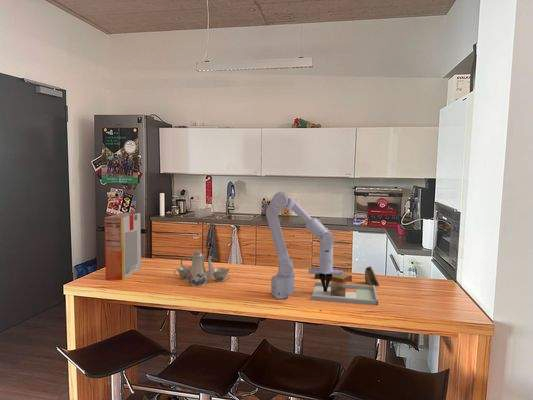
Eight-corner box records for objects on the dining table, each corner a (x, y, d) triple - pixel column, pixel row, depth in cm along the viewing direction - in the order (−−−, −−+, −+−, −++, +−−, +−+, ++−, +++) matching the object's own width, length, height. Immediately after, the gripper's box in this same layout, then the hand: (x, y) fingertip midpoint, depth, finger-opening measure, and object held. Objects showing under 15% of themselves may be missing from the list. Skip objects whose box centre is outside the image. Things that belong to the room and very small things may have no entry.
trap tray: (310, 303, 152) (311, 294, 152) (314, 288, 172) (315, 281, 171) (378, 308, 147) (378, 299, 147) (374, 293, 166) (374, 285, 166)
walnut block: (330, 295, 157) (330, 286, 157) (331, 291, 163) (331, 282, 163) (345, 296, 156) (345, 287, 156) (345, 292, 162) (345, 283, 162)
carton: (343, 287, 175) (343, 278, 175) (314, 280, 186) (314, 272, 185) (352, 283, 181) (352, 274, 181) (323, 277, 192) (323, 268, 191)
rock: (360, 276, 184) (356, 278, 175) (371, 263, 183) (368, 265, 173) (377, 292, 180) (374, 295, 171) (389, 279, 179) (387, 282, 170)
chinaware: (232, 281, 188) (232, 247, 188) (225, 288, 171) (226, 251, 171) (176, 279, 190) (177, 246, 190) (165, 285, 173) (166, 249, 174)
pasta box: (126, 267, 205) (125, 212, 203) (141, 267, 205) (140, 212, 202) (105, 279, 182) (104, 217, 180) (122, 280, 182) (121, 217, 180)
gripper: (307, 260, 157) (307, 292, 158) (343, 262, 154) (342, 295, 155) (309, 257, 164) (308, 287, 165) (343, 259, 161) (342, 290, 162)
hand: (325, 291), depth 161 cm, fingers closed
